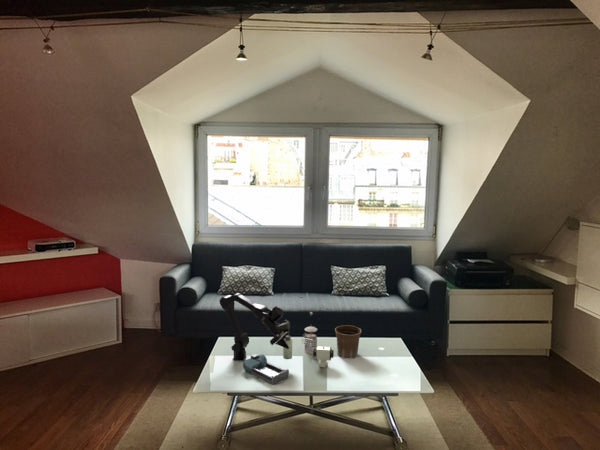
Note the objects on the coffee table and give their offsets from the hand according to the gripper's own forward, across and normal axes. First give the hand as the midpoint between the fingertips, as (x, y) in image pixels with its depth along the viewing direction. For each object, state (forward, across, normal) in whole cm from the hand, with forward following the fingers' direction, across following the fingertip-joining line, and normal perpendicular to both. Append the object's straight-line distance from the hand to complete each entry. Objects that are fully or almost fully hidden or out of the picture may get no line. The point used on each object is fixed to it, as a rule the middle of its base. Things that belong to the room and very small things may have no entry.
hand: (290, 346), depth 250 cm
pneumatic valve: (+21, +11, -2) cm, 24 cm away
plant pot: (+28, +31, -9) cm, 43 cm away
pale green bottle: (+4, 0, +6) cm, 7 cm away
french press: (+12, +29, +8) cm, 32 cm away
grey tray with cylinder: (+2, -11, +17) cm, 20 cm away
